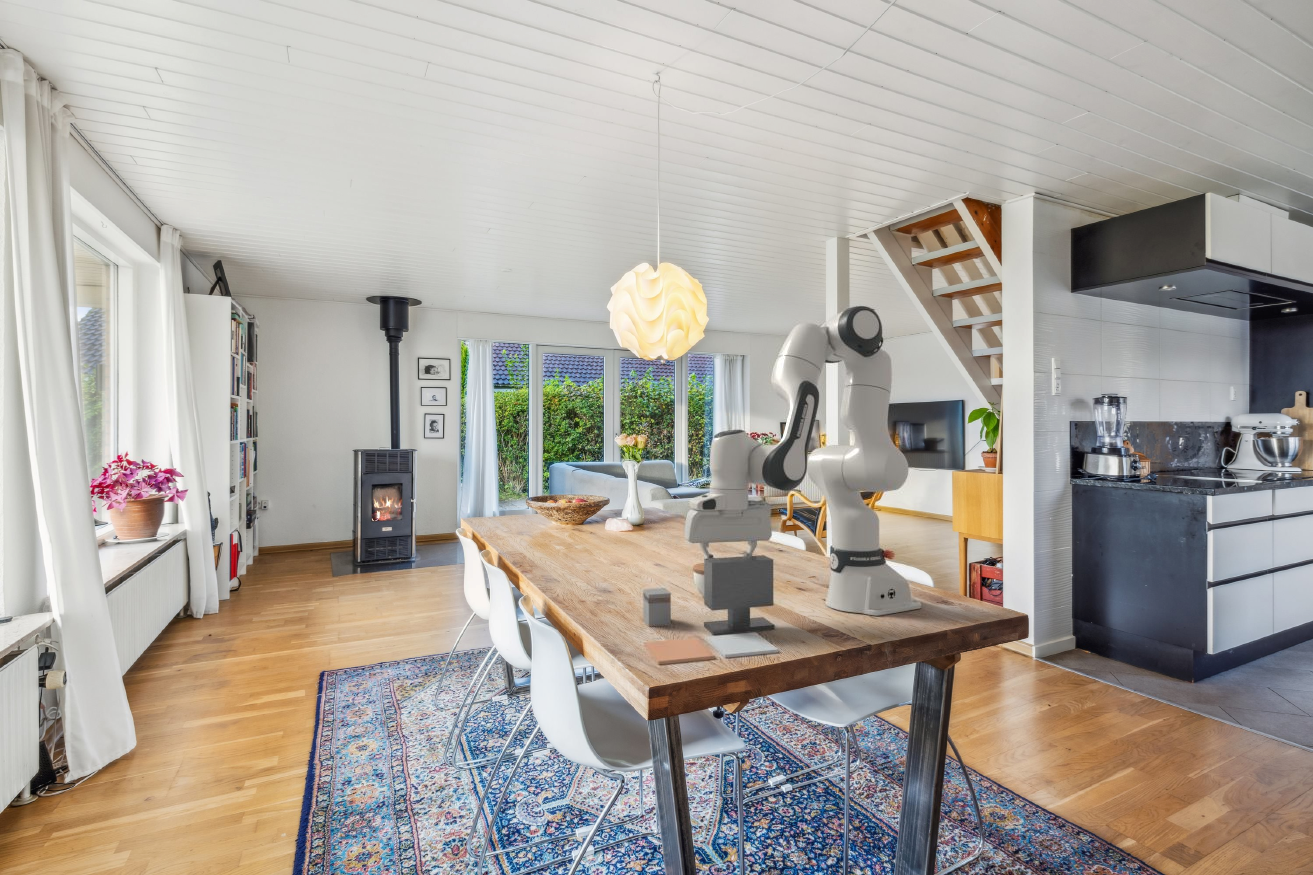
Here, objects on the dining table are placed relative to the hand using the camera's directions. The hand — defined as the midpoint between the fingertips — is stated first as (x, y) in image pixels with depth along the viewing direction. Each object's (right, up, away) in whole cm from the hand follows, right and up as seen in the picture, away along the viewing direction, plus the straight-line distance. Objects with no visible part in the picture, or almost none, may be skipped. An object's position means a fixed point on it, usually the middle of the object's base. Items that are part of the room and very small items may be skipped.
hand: (728, 561), depth 150 cm
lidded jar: (-2, -13, +19) cm, 23 cm away
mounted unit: (+1, -13, -8) cm, 15 cm away
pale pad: (0, -13, -19) cm, 23 cm away
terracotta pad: (-12, -13, -23) cm, 29 cm away
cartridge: (-16, -13, -3) cm, 21 cm away
